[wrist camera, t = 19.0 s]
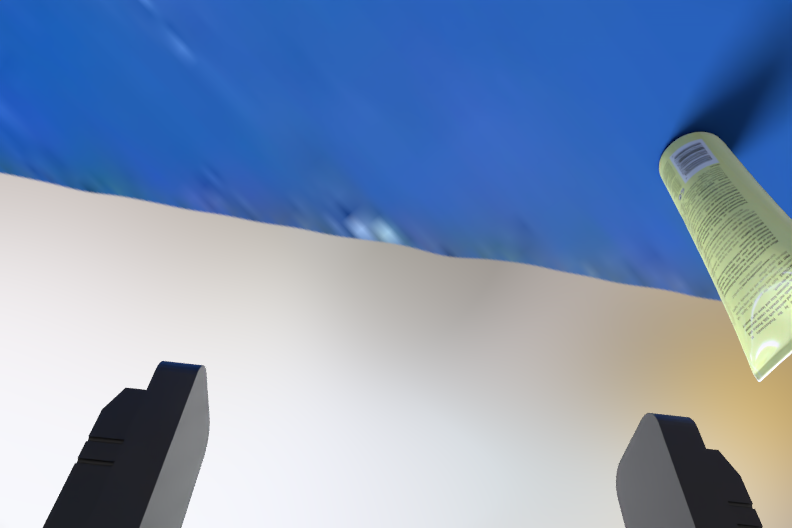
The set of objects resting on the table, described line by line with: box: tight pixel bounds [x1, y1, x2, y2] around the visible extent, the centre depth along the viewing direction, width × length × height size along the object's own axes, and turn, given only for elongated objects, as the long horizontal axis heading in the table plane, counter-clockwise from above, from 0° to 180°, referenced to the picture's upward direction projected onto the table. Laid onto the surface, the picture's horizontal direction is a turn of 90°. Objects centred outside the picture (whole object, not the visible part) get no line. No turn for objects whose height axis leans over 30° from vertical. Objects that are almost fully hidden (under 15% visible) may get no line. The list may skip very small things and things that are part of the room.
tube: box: [659, 132, 792, 382], centre depth 43 cm, size 6×5×20 cm
